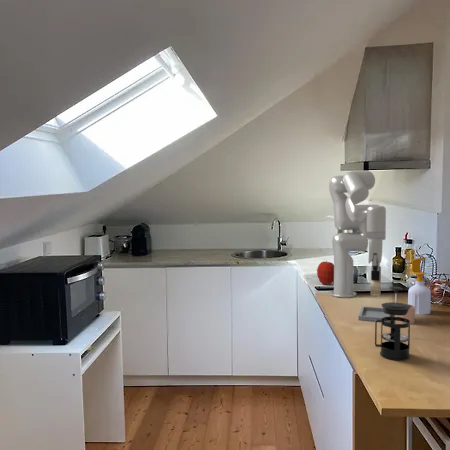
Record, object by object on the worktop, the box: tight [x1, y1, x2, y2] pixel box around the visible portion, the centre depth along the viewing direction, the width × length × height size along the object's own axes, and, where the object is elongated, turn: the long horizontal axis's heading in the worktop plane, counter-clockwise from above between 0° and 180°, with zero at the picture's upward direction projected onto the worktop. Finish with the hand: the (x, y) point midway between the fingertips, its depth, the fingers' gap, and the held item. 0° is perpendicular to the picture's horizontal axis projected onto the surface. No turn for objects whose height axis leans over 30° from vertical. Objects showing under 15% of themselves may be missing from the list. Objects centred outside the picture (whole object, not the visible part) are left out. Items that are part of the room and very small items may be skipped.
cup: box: [396, 303, 416, 325], centre depth 196 cm, size 7×7×7 cm
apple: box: [316, 259, 334, 285], centre depth 270 cm, size 10×10×14 cm
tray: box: [357, 305, 391, 323], centre depth 204 cm, size 16×12×2 cm
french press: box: [374, 286, 411, 362], centre depth 160 cm, size 12×9×23 cm
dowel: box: [370, 265, 382, 297], centre depth 203 cm, size 4×4×12 cm
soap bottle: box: [407, 257, 432, 316], centre depth 209 cm, size 9×9×25 cm
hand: (375, 278), depth 203 cm, fingers closed on dowel, 4 cm apart
